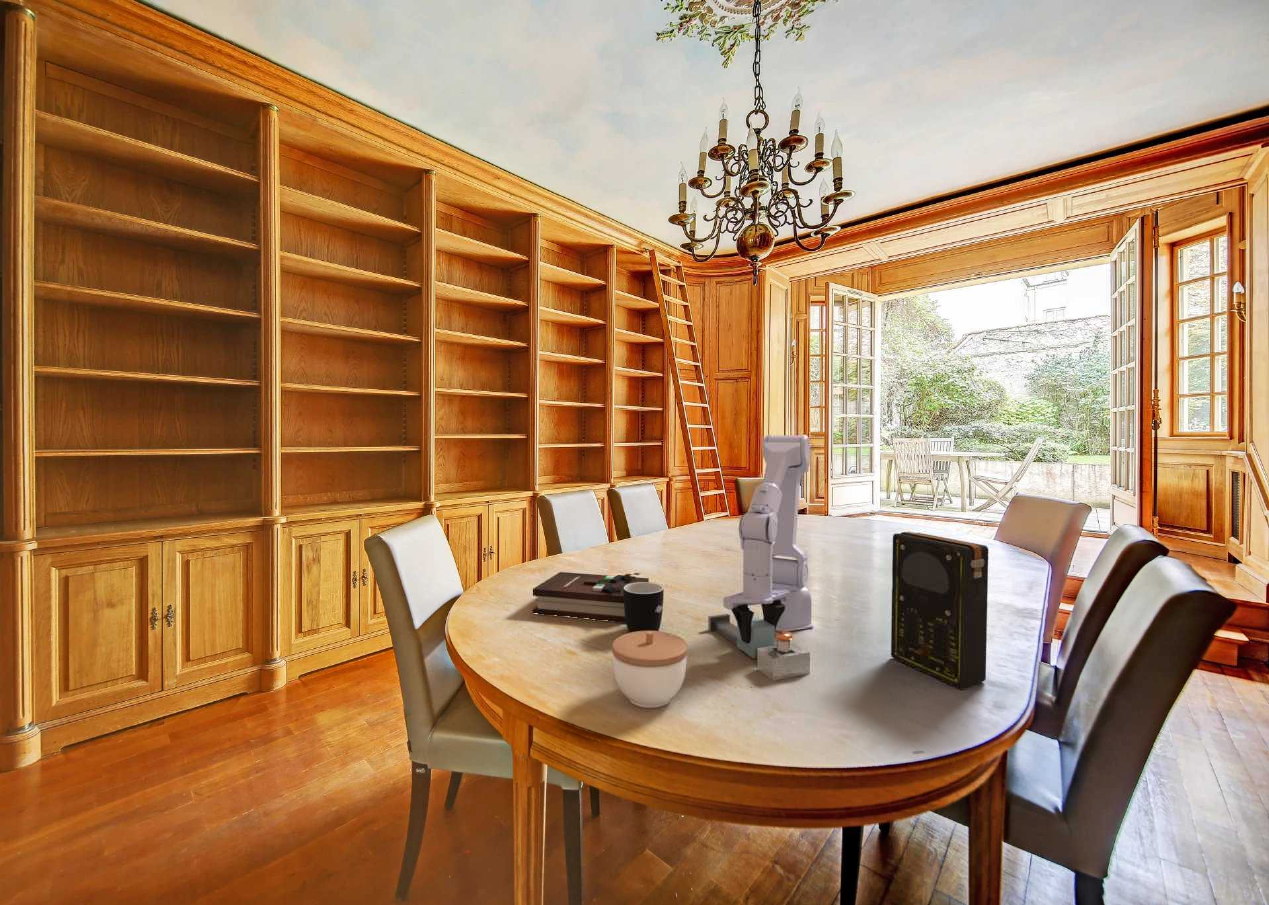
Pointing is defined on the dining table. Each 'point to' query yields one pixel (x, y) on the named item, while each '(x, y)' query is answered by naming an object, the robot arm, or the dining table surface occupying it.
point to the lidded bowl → (649, 666)
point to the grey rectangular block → (783, 662)
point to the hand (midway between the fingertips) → (757, 639)
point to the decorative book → (584, 595)
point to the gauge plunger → (783, 641)
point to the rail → (724, 627)
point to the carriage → (757, 636)
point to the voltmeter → (940, 607)
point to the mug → (643, 606)
